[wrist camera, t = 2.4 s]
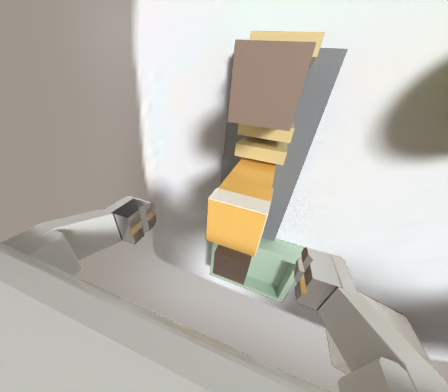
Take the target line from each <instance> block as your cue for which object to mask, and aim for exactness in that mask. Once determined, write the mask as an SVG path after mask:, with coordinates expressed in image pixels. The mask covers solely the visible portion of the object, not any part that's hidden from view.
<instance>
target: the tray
mask: <svg viewBox="0 0 448 392" xmlns="http://www.w3.org/2000/svg"><path fill="white" fill-rule="evenodd" d="M217 246H218V244H216V243H212V255H211V267H210V275H212V276H215V277H217V278H220V279H222V280H225V281H227V282H230V283H232V284H235V285H238V286H240V287H243V288H245V289H248V290H250V291H253V292H255V293H258V294H260V295H263V296H265V297H268V298H270V299H273V300H276V301H278V302H281V303H282V301H283V300H284V298H285V296H286V295H287V293H288V291H289V290H290V288H291V286H292V285H293V283H294V281H295V279H294V268H295V264H296V261H297V259H298V258H301V257H302V255H301V252H302V250H303V249H304V247H302V246H299V245H295V244H292V243H289V242H286V241H282V240H279V239H276V238H275V240H274V241H271V240H268V239H264V238H261V239H260V242H259V246H258V249H257V252H256V255H255V257H253V256H252V257H251V262H250V266H249V269H248V272H247V276H246V279H245V282H244V285H242V284H239V283H237V282H234V281H232V280H229V279H227V278H224V277H222V276H219V275H216V274H214V273H213V264H214V254H215V250H216V248H217Z"/></svg>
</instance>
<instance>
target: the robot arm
mask: <svg viewBox="0 0 448 392" xmlns="http://www.w3.org/2000/svg"><path fill="white" fill-rule="evenodd" d="M154 209H155V208H154V204H153V203H151V202H149V201H145V200H142V199H139V198H135V197H132V196H126V197H124V198H122V199H120V200H119V201H117V202H115V203H114V204H112V205H110V206H108V207H107V208H105V209H103V210H96V211H92V212H87V213H83V214H78V215H74V216H70V217H65V218H61V219H57V220H52V221H48V222H44V223H40V224H38V225H36V226H34V227H32V228H30V229H28V230H26V231H24V232H22V233H20V234H18V235H16V236H14V237H12V238H9V239H8V240H6V241H4V242H1V243H0V392H329V391H327V390H325V389H323V388H320V387H318V386H316V385H314V384H312V383H309V382H307V381H305V380H303V379H300V378H298V377H296V376H294V375H292V374H290V373H287V372H285V371H283V370H281V369H279V368H276V367H274V366H272V365H270V364H267V363H265V362H263V361H261V360H259V359H256V358H254V357H252V356H250V355H248V354H245V353H243V352H241V351H239V350H237V349H234V348H232V347H230V346H228V345H225V344H223V343H221V342H219V341H217V340H215V339H212V338H210V337H208V336H206V335H203V334H201V333H199V332H197V331H195V330H193V329H190V328H188V327H186V326H184V325H181V324H179V323H177V322H175V321H173V320H170V319H168V318H166V317H164V316H162V315H159V314H157V313H155V312H152V311H151V310H148V309H146V308H144V307H142V306H139V305H137V304H135V303H133V302H131V301H128V300H126V299H124V298H122V297H120V296H117V295H115V294H113V293H111V292H108V291H106V290H104V289H102V288H100V287H98V286H95V285H93V284H91V283H88V282H86V281H84V280H82V279H80V278H78V277H75V275H76V274H77V273H78V272H79V271H81V270H82V267H83V266H82V265H81V263H80V261H79V260H81V259H83V258H85V257H87V256H90V255H92V254H94V253H96V252H98V251H100V250H103V249H104V248H107V247H109V246H111V245H113V244H115V243H118V242H120V241H121V240H124V241H127V242H130V243H133V244H136V243H137V242H138V241H139V240H140V239H141V238H142V237H143V236H144V232H146V231H149V230H150V229H151V228H152V227H153V226H154V224H155V222H156V215H155V213H154V212H153V210H154ZM301 255H302V257H301V258H298V259H297V261H296V264H295V268H294V279H295V280H296V282H297V285H296V287H295V295H296V303H299V304H301V305H304V306H306V307H309V308H312V309H314V310H317V313H318V315H319V316H320V318H321V320H322V322H323V323H324V325H325V327H326V329H327V331H328V332H329V334H330V336H331V338H332V339H333V341H334V343H335V345H336V346H337V348H338V350H339V352H340V353H341V355H342V357H343V359H344V360H345V362H346V364H347V366H348V367H349V369H350V371H351V373H349V374H347V375H345V376H343V377H341V378H340V379H339V380H338V385H339V389H340V392H448V386H447V384H446V382H445V380H444V379H443V378H442V377H441V376H440V375H439V374H438V373H437V372H436V371H435V370H434V369H433V368H432V367H431V366H430V365H429V364H428V363H427V362H426V361H425V360H424V358H423V357H422V356H421V355H420V354H419V353H418V352H417V351H416V350H415V349H414V348H413V347H412V346H411V345H410V344H409V343H408V342H407V341H406V340H405V339H404V338H403V337H402V336H401V335H400V334H399V333H398V332H397V330H396V329H395V328H394V327H393V326H392V325H391V324H390V323H389V322H388V321H387V320H386V319H385V318H384V317H383V316H382V315H381V314H380V313H379V312H378V311H377V310H376V309H375V308H374V307H373V306H372V305H371V304H370V302H369V301H368V300H367V299H366V298H365V297H364V296H363V295H360V294H358V292H357V290H356V287H355V285H354V282H353V280H352V277H351V275H350V273H349V270H348V268H347V265H346V263H345V260H344V259H343V258H342V257H339V256H336V255H332V254H328V253H324V252H321V251H317V250H314V249H310V248H307V247H305V248H304V249H303V250H302V252H301Z"/></svg>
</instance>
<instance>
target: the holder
mask: <svg viewBox="0 0 448 392" xmlns="http://www.w3.org/2000/svg"><path fill="white" fill-rule="evenodd" d="M324 33H325V32H281V31H251V35H250V40H235V47H234V57H233V67H232V78H231V88H230V98H229V108H228V119H227V129H226V139H225V150H224V160H223V170H222V180H221V184H222V182H223V181H224V180H225V179H226V177H227V176H228V175H229V174H230V172H231V171H232V170H233V169H234V167H235V166H236V165H237V164H238V162H239V161H240V160H241V159H242V157H244V158H249V159H254V160H259V161H264V162H269V163H274V164H276V168H275V174H274V179H273V185H272V190H271V196H270V207H269V213H268V217H267V220H266V223H265V227H264V230H263V233H262V236H261V238H264V239H268V240H271V241H274V240H275V237H276V235H277V232H278V229H279V227H280V224H281V222H282V219H283V216H284V214H285V211H286V209H287V206H288V203H289V201H290V198H291V196H292V193H293V190H294V188H295V185H296V183H297V180H298V177H299V175H300V172H301V169H302V167H303V164H304V162H305V159H306V156H307V154H308V151H309V149H310V146H311V143H312V141H313V138H314V136H315V133H316V130H317V128H318V125H319V123H320V120H321V117H322V115H323V112H324V110H325V107H326V104H327V102H328V99H329V96H330V94H331V91H332V89H333V86H334V83H335V81H336V78H337V76H338V73H339V70H340V68H341V65H342V63H343V60H344V57H345V55H346V52H347V50H348V49H335V48H320V46H321V43H322V40H323V37H324ZM251 257H252V256H251V255H248V254H245V253H242V252H239V251H236V250H233V249H230V248H227V247H224V246H221V245H219V244H218V246H217V248H216V250H215V254H214V264H213V273H214V274H216V275H219V276H222V277H224V278H227V279H229V280H232V281H234V282H237V283H239V284H242V285H244V282H245V279H246V276H247V272H248V269H249V266H250V262H251ZM253 257H255V256H253Z"/></svg>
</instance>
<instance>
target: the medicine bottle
mask: <svg viewBox="0 0 448 392" xmlns="http://www.w3.org/2000/svg"><path fill="white" fill-rule="evenodd" d="M357 292H358V291H357ZM358 294H360V295H363V294H361V293H360V292H358ZM363 296H364V297H365V298H366V299H367V300H368V301H369V302H370V304H371V305H372V306H373V307H374V308H375V309H376V310H377V311H378V312H379V313H380V314H381V315H382V316H383V317H384V318H385V319H386V320H387V321H388V322H389V323H390V324H391V325H392V326H393V327H394V328H395V329H396V330H397V332H398V333H399V334H400V335H401V336H402V337H403V338H404V339H405V340H406V341H407V342H408V343H409V344H410V345H411V346H412V347H413V348H414V349H415V350H416V351H417V352H418V353H419V354H420V355H421V356H422V357H423V358H424V360H425V361H426V362H427V363H428V364H429V365H430V366H431V367H432V368H433V369H434V370H435V368H434V366H433V365H432V363H431V361H430V359H429V357H428V355H427V354H426V352H425V350H424V348H423V346H422V345H421V343H420V341H419V339H418V337H417V335H416V334H415V332H414V330H413V328H412V326H411V325H410V323H409V321H408V319H407V318H406V317H405V316H404V315H402V314H400V313H398V312H396V311H394V310H392V309H390V308H388V307H386V306H384V305H383V304H381V303H379V302H377V301H375V300H373V299H371V298H369V297H367V296H365V295H363ZM325 328H326V327H325ZM326 334H327V340H328V346H329V352H330V357H331V363H332V365H333V367H335V368H337V369H338V370H340V371H342V372H344V373H345V374H349V373H351V371H350V369H349V367H348V366H347V364H346V362H345V360H344V359H343V357H342V355H341V353H340V352H339V350H338V348H337V346H336V345H335V343H334V341H333V339H332V338H331V336H330V334H329V332H328V331H327V329H326ZM435 371H436V370H435Z"/></svg>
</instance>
